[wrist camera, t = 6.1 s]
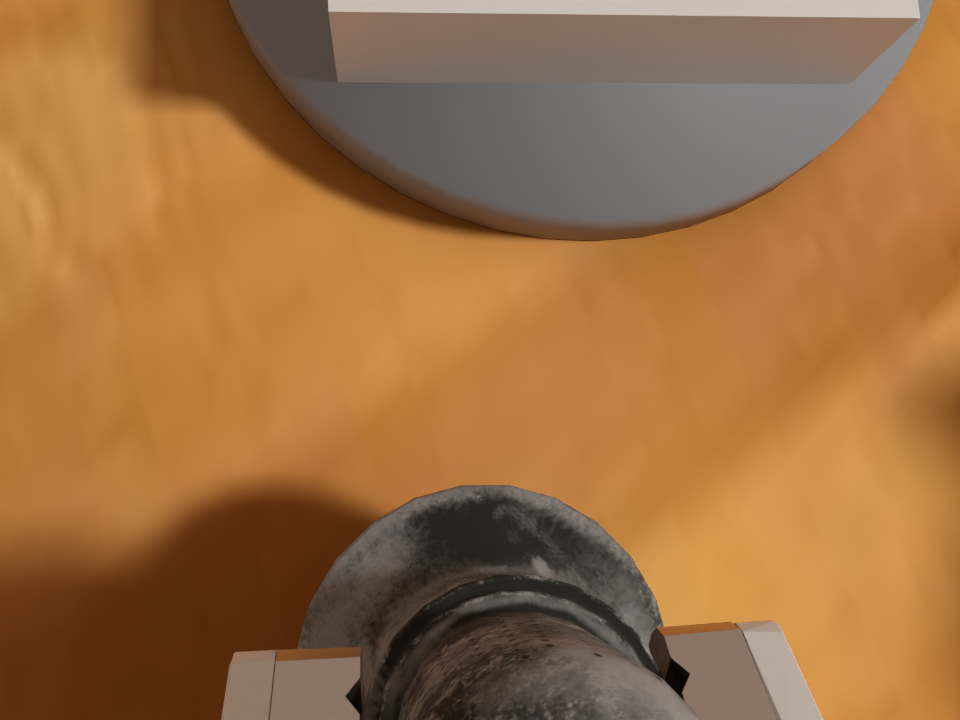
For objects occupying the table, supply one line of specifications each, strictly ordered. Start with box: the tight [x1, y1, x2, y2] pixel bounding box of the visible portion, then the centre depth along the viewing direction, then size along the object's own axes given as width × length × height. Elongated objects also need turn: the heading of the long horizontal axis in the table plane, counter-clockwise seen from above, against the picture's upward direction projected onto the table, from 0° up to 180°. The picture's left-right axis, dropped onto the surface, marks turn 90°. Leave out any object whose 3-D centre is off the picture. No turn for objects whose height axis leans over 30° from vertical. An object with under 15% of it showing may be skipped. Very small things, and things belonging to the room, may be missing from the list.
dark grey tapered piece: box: [297, 485, 699, 720], centre depth 11 cm, size 6×6×12 cm
